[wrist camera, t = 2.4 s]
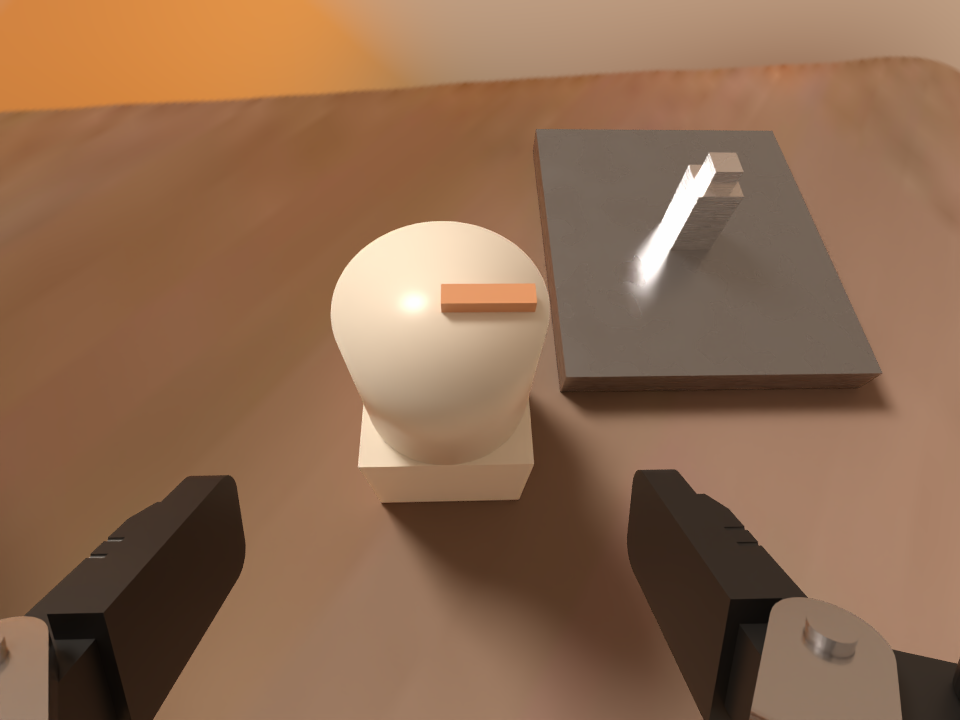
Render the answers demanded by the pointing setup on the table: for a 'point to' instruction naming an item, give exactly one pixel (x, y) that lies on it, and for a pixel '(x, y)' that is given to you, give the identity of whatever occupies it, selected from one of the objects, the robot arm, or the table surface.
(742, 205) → the grey base with post
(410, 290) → the knob
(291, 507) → the table surface
